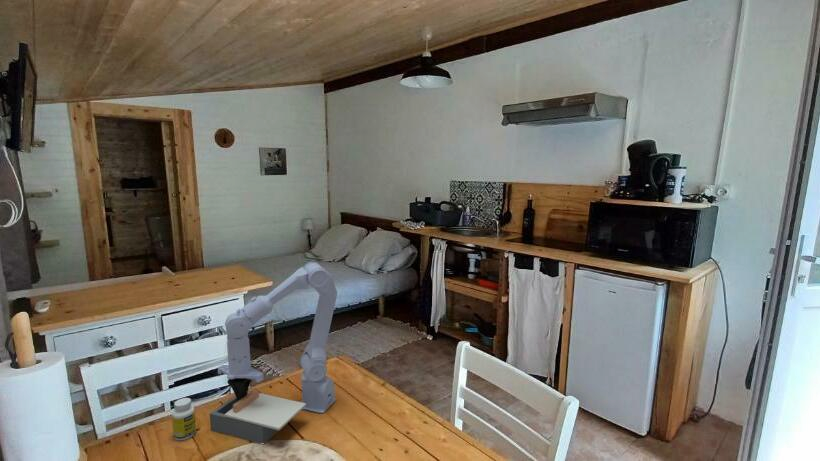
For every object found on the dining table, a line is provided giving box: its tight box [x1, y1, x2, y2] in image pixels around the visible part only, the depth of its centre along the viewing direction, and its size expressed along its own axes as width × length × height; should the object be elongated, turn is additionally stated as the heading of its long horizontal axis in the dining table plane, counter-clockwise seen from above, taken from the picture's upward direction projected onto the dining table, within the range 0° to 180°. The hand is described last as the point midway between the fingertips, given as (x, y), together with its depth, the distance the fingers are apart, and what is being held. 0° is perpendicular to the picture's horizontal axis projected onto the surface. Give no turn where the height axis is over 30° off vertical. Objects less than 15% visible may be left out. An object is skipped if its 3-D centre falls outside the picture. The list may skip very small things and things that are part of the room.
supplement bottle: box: [171, 397, 197, 441], centre depth 110 cm, size 5×5×10 cm
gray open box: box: [209, 392, 280, 444], centre depth 115 cm, size 18×12×5 cm, turn 70°
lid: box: [225, 388, 306, 431], centre depth 112 cm, size 18×12×3 cm, turn 70°
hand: (242, 400), depth 115 cm, fingers closed
